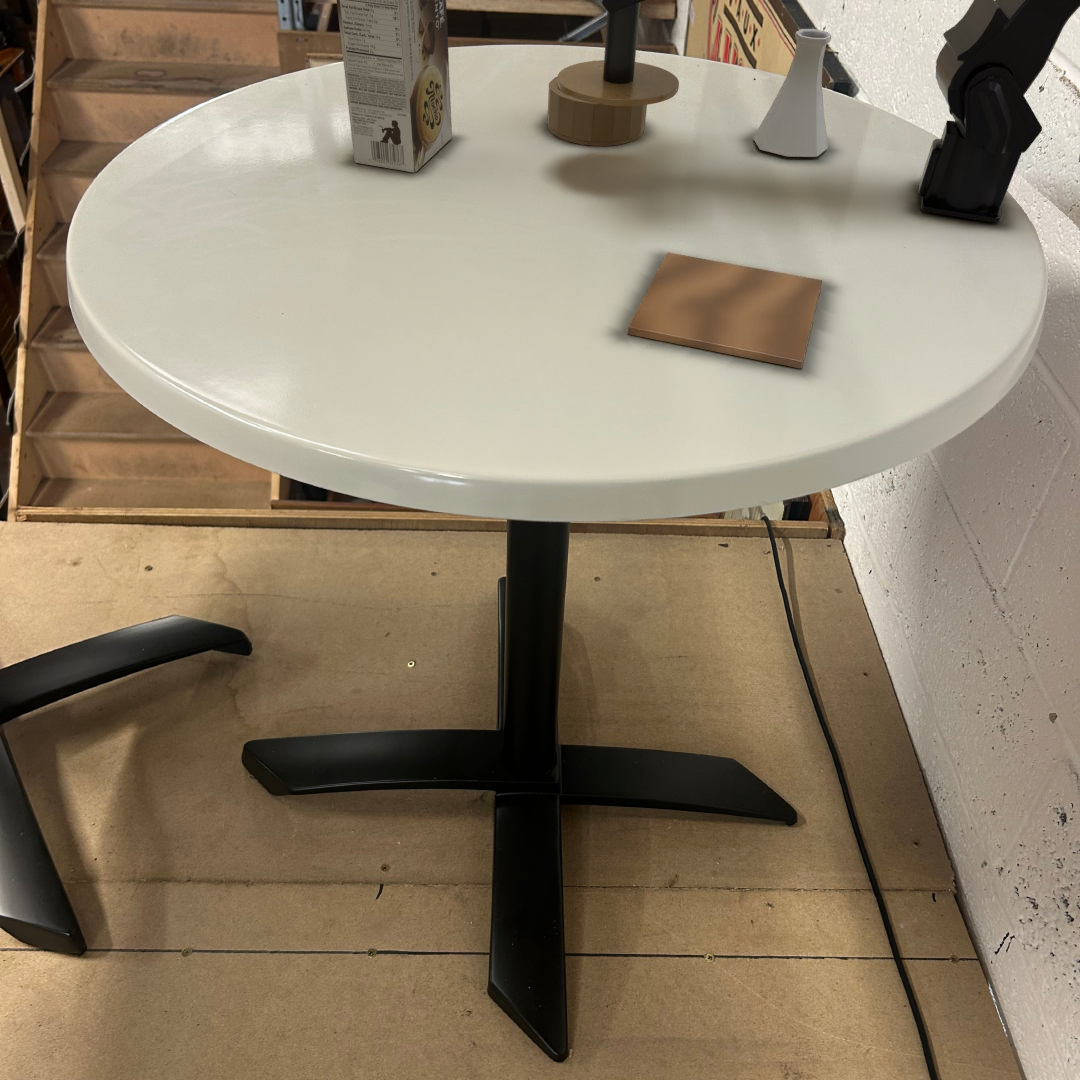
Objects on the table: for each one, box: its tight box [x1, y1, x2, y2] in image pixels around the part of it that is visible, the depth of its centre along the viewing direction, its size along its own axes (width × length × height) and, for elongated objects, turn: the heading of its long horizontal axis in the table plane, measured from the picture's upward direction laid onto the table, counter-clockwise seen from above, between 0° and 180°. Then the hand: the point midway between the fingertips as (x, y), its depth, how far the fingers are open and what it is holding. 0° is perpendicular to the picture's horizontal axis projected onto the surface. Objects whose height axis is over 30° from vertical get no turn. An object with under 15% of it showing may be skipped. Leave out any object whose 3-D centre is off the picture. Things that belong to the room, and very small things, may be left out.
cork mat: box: [627, 252, 823, 369], centre depth 66 cm, size 12×12×1 cm
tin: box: [547, 76, 648, 147], centre depth 90 cm, size 10×10×4 cm
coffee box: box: [336, 0, 453, 173], centre depth 80 cm, size 9×6×16 cm
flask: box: [753, 28, 832, 158], centre depth 86 cm, size 7×7×10 cm
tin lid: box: [556, 2, 680, 106], centre depth 76 cm, size 10×10×9 cm
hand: (607, 2), depth 74 cm, fingers closed on tin lid, 2 cm apart
